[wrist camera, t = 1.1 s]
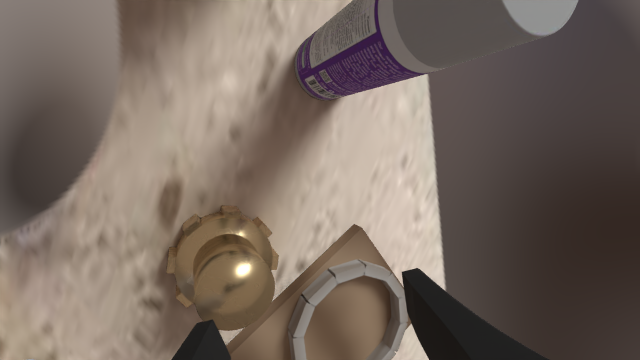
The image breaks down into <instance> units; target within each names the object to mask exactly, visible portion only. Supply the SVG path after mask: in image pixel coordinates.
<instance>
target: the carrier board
mask: <svg viewBox="0 0 640 360" xmlns="http://www.w3.org/2000/svg"><path fill="white" fill-rule="evenodd" d="M410 324H411V321H410V318H409V316H408V313H407V308H406V300H405V293H404V288H403V286H402V285H401V283H400V282H399V280H398V279H397V278H396V276H395V275H394V273H393V272H392V270H391V269H390V267H389V266H388V265H387V263H386V262H385V260H384V259H383V257H382V256H381V254H380V253H379V252H378V250H377V249H376V247H375V246H374V244H373V243H372V242H371V240H370V239H369V237H368V236H367V234H366V233H365V231H364V230H363V229H362V228H361V227H359V226H357V225H355V224H354V225H353V226H352V227H351V228H350V229H349V230H348V231H347V232H346V233H345V234H343V235H342V236H341V237H340V238H339V239H338V240H337V241H336V242H335V243H334V244H333V245H332V246H331V247H330V248H329V249H328V250H327V251H326V252H324V253H323V254H322V255H321V256H320V257H319V258H318V259H317V260H316V261H315V262H314V263H313V264H312V265H311V266H310V267H309V268H308V269H307V270H306V271H304V272H303V273H302V274H301V275H300V276H299V277H298V278H297V279H296V280H295V281H294V282H293V283H292V284H291V285H290V286H289V287H288V288H287V289H286V290H284V291H283V292H282V293H281V294H280V295H279V296H278V297H277V298H276V299H275V300H274V301H273V302H272V303H271V304H270V306H269V307H268V309H267V310H266V312H265V313H264V314H263V315H262V316H261V317H260V318H259V319H258V320H257V321H255V322H254V323H252V324H250V325H249V326H247V327H245V328H244V329H243V330H242V331H241V332H240V333H239V334H238V335H237V336H236V337H235V338H234V339H233V340H232V341H231V342H230V343H229V344H228V345H227V346H226V347H227V350H228V352H229V354H230V356H231V360H391V359H392V358H393V357H394V356H395V354H396V353H395V352H394V351H396V352H397V351H398V348H399V346H400V343H401V340H402V338H403V335H404V332H405V330H406V329H407V328H408V326H409V325H410Z"/></svg>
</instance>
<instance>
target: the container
mask: <svg viewBox="0 0 640 360" xmlns="http://www.w3.org/2000/svg"><path fill="white" fill-rule="evenodd" d="M577 2H578V0H353V1H352V2H351V3H349V4H348V5H347V6H346V7H345V8H343V9H342V10H341V11H340V12H339V13H337V14H336V15H335V16H334V17H332V18H331V19H330V20H329V21H328V22H326V23H325V24H324V25H323V26H322V27H320V28H319V29H318V30H317V31H316V32H314V33H313V34H312V35H311V36H310V37H308V38H307V39H306V40H305V41H304V42H303V43H302V44H301V45H300V47H299V49H298V51H297V53H296V57H295V72H296V76H297V79H298V81H299V83H300V85H301V87H302V88H303V89H304V90H305V91H306V92H307V93H308V94H309V95H311V96H312V97H314V98H316V99H319V100H332V99H336V98H340V97H344V96H347V95H351V94H355V93H358V92H362V91H366V90H369V89H373V88H377V87H380V86H384V85H388V84H391V83H395V82H399V81H402V80H406V79H409V78H413V77H417V76H420V75H424V74H428V73H431V72H434V71H437V70H440V69H443V68H446V67H450V66H453V65H456V64H459V63H462V62H466V61H469V60H472V59H475V58H478V57H481V56H485V55H488V54H491V53H494V52H497V51H500V50H504V49H507V48H510V47H513V46H517V45H520V44H523V43H526V42H529V41H532V40H536V39H539V38H542V37H545V36H548V35H551V34H553V33H555V32H556V31H558V30H559V29H560V28H561V27H563V26H564V24H565V23H566V22H567V21H568V19H569V18H570V16H571V15H572V13H573V11H574V9H575V7H576V4H577Z"/></svg>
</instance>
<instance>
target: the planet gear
mask: <svg viewBox="0 0 640 360" xmlns="http://www.w3.org/2000/svg"><path fill="white" fill-rule="evenodd" d="M183 232H184V234H183V235H182V237H181V239H180V241H179V243H178V246H177V247H169V255H168V264H167V273H175V279H176V282H177V285H176V298H177V299H178V300H179V301H180V302H181V303H182V304H183V305H184V306H186V307H187V308H188V307H189V306H190V305H191V304H192V303H193V304H195V305H196V309H197V312H198V314H199V316H200V317H201V319H202V320H203V321H208V320H212V319H213V320H214V322H215V324H216V327H217V329H219V330H225V331H230V330H238V329H241V328H244V327H246V326H249V325H250V324H252V323H254V322H255V321H257V320H258V319H259V318H260V317H261V316H262V315H263V314H264V313H265V312H266V310H267V309H268V307H269V306H270V304H271V302H272V299H273V296H274V291H275V282H274V277H273V275H272V272H271V270H277V265H278V257H279V255H278V254H277V253H276V252H275V251H274V249H273V248H272V247H271V245H270V242H269V240H268V237H269V236H270V235H271V234H272V232H271V231H270V230H269V229H268V228H267V226H266V225H265V224H264V223H263V222H262V221H261V220H260V219H259V218H258V217H256V218H255V219H254V220H253V221H252V220H251V219H250V218H248V217H246V216H244V215H242V214H241V212H240V210H239V209H238V208H237V207H236V206H221V212H217V213H213V214H209V215H207V216H204V217H202V218H199V217H198V216H197V215H196V214H195V215H194V216H192V217H191V218H190V219H189V220H187V221H186V222H185V223H184V224H183Z"/></svg>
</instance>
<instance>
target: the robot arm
mask: <svg viewBox="0 0 640 360" xmlns="http://www.w3.org/2000/svg"><path fill="white" fill-rule="evenodd" d="M402 278H403V285H404V293H405V300H406V308H407V313H408V316H409V318H410V321H411V323H412V325H413V328H414V330H415V333H416V335H417V337H418V340H419V341H420V343H421V345H422V347H423V349H424V351H425V353H426V355H427V356H428V358H429V360H549V359H547V358H545V357H543V356H541V355H540V354H538V353H536V352H535V351H533V350H531V349H529V348H527V347H526V346H524V345H522V344H521V343H519V342H517V341H516V340H514V339H512V338H511V337H509V336H507V335H506V334H504V333H503V332H501V331H500V330H498V329H497V328H495V327H494V326H492V325H491V324H489V323H487V322H486V321H485V320H483V319H481V318H480V317H479V316H478V315H476V314H475V313H473V312H472V311H471V310H469V309H468V308H467V307H465V306H464V305H463V304H461V303H460V302H459V301H457V300H456V299H454V298H453V297H452V296H451V295H449V294H448V293H447V292H446V291H445V290H443V289H442V288H441V287H440V286H439V285H437V284H436V283H435V282H434V281H433V280H431V279H430V278H429V277H428V276H427V275H426V274H425V273H423V272H422V271H421V270H420V269H418V268H416V269H412V270H408V271H404V272H402ZM27 360H33V359H27ZM172 360H231V356H230V354H229V352H228V350H227V347H226V345H225V343H224V341H223V339H222V337H221V335H220V333H219V331H218V329H217V327H216V324H215V322H214V320H213V319H212V320H208V321H204V322H200V323H197V324H196V325H195V327H194V328H193V329H192V331H191V332H190V334H189V335H188V337H187V338H186V339H185V341H184V342H183V344H182V345H181V347H180V348H179V350H178V351H177V353H176V354H175V355H174V357H173V358H172Z"/></svg>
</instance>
